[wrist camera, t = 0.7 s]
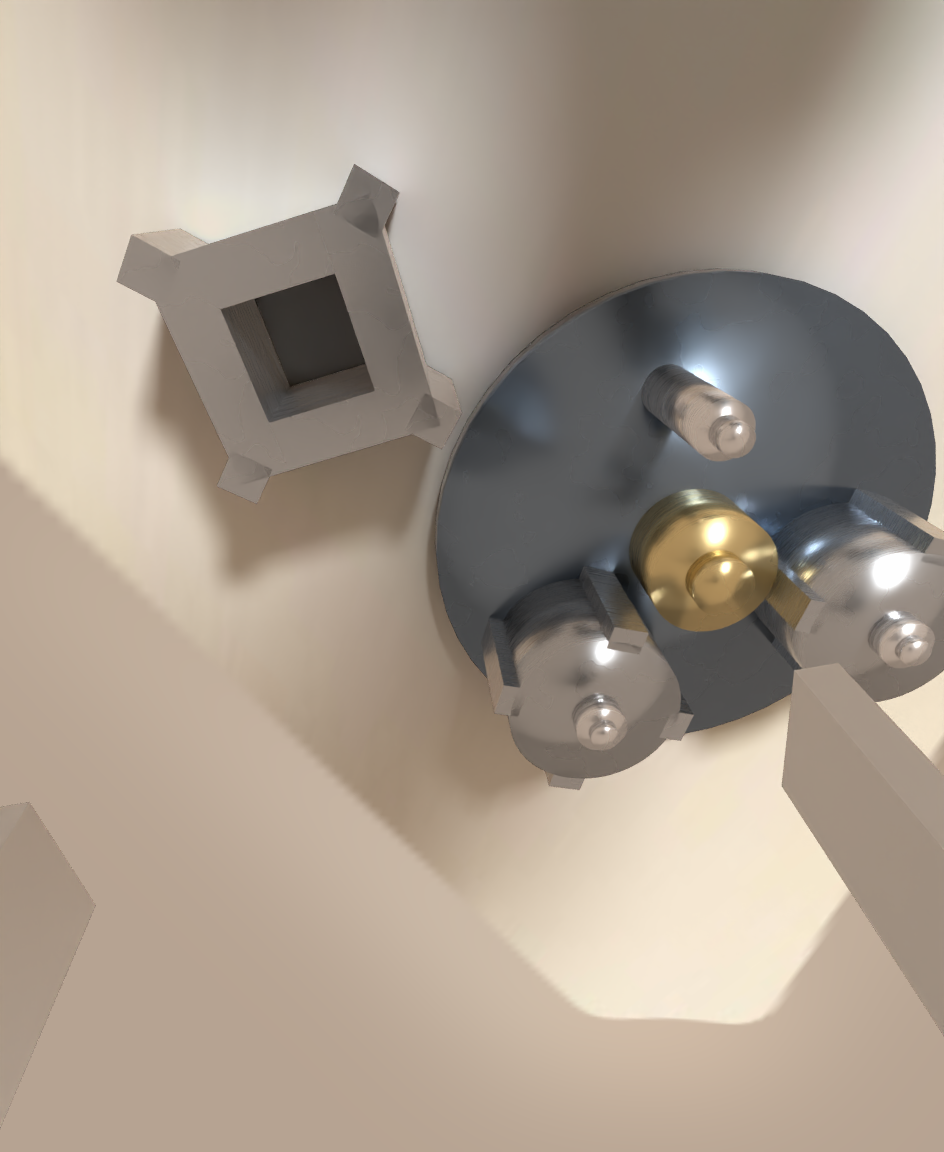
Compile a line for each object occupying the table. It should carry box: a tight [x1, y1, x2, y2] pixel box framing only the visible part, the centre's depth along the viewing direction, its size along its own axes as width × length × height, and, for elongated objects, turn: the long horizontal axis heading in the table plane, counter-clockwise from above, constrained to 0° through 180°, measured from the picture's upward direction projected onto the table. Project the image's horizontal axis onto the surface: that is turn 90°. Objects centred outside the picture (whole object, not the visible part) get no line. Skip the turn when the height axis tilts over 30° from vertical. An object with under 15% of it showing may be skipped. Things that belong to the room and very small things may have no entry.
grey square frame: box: [117, 164, 462, 504], centre depth 24 cm, size 9×9×5 cm
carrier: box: [435, 269, 944, 790], centre depth 28 cm, size 22×22×8 cm
